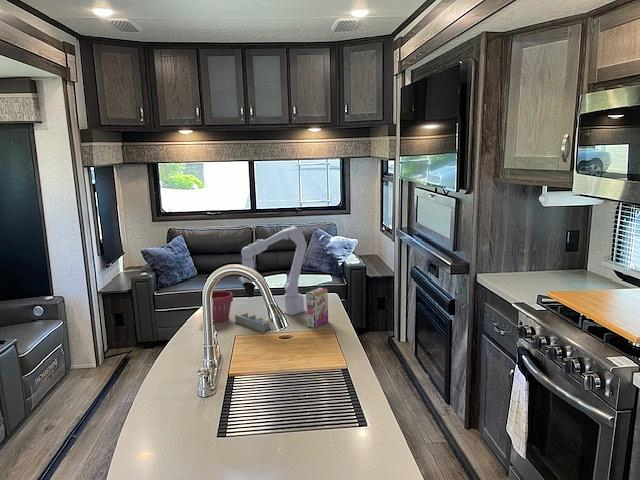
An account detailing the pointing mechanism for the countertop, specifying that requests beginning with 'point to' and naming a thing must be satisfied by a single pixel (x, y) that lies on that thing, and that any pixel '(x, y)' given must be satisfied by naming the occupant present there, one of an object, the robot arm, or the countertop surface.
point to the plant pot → (221, 305)
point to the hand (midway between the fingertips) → (250, 297)
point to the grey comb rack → (252, 322)
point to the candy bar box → (317, 307)
